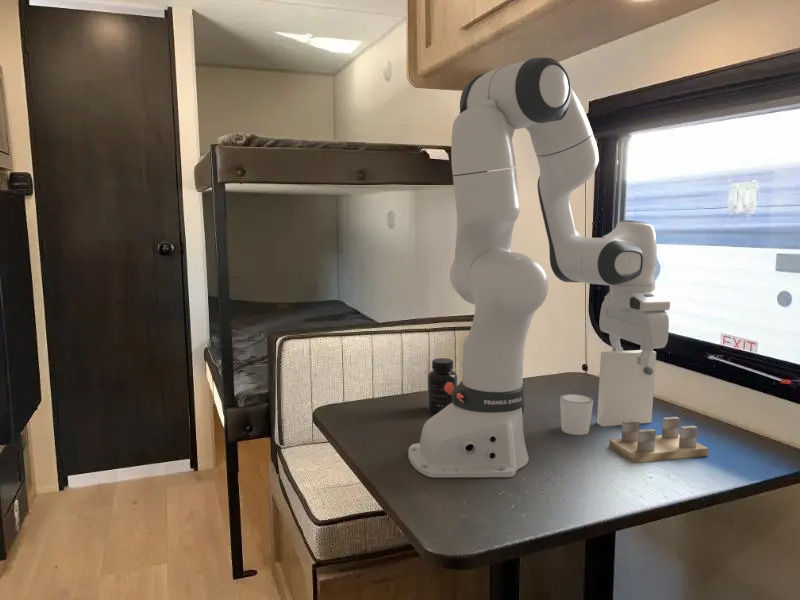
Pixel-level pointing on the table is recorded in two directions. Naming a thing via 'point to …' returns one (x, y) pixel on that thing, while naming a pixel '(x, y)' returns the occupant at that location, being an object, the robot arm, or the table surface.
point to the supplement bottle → (440, 384)
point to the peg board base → (658, 442)
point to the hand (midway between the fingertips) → (629, 359)
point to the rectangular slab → (625, 388)
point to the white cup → (575, 413)
